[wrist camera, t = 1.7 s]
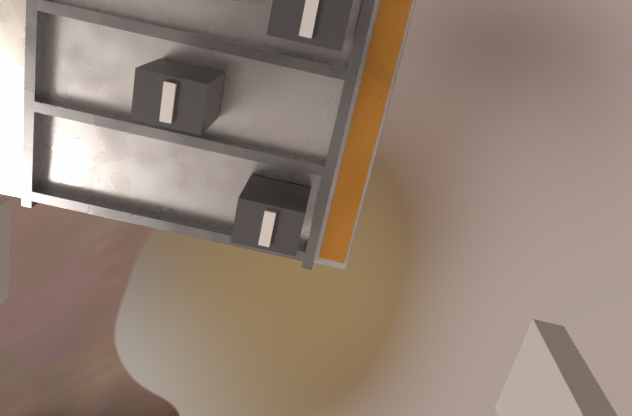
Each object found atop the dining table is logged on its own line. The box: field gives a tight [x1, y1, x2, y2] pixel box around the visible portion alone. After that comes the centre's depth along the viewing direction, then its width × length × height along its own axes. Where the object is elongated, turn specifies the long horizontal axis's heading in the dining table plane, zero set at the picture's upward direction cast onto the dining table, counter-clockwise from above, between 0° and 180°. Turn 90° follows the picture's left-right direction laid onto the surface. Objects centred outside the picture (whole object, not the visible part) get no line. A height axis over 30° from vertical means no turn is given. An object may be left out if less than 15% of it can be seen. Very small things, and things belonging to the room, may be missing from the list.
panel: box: [0, 0, 416, 270], centre depth 33 cm, size 18×22×2 cm
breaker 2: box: [231, 175, 311, 257], centre depth 32 cm, size 3×4×4 cm
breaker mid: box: [131, 58, 225, 135], centre depth 30 cm, size 3×4×4 cm
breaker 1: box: [267, 0, 353, 52], centre depth 28 cm, size 3×4×4 cm
